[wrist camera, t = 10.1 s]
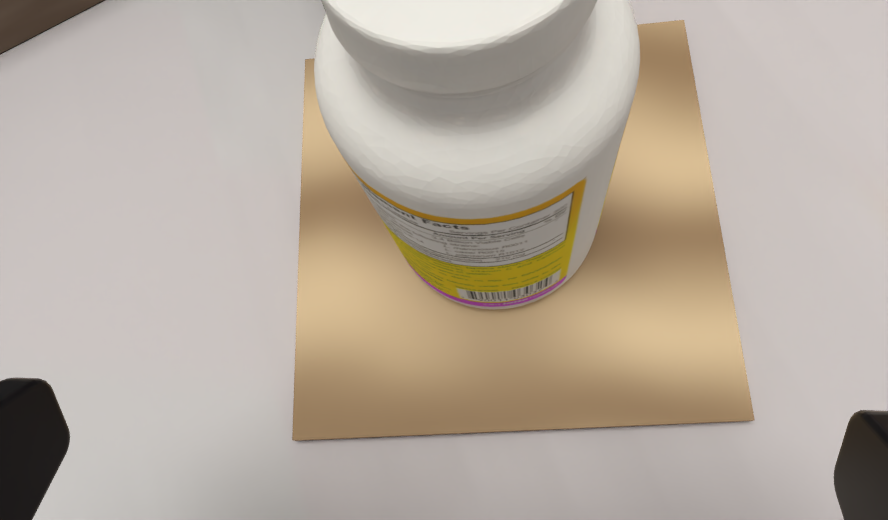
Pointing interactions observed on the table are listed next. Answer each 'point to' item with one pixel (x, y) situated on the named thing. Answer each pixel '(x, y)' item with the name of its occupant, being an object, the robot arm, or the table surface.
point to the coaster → (535, 324)
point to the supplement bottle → (481, 131)
